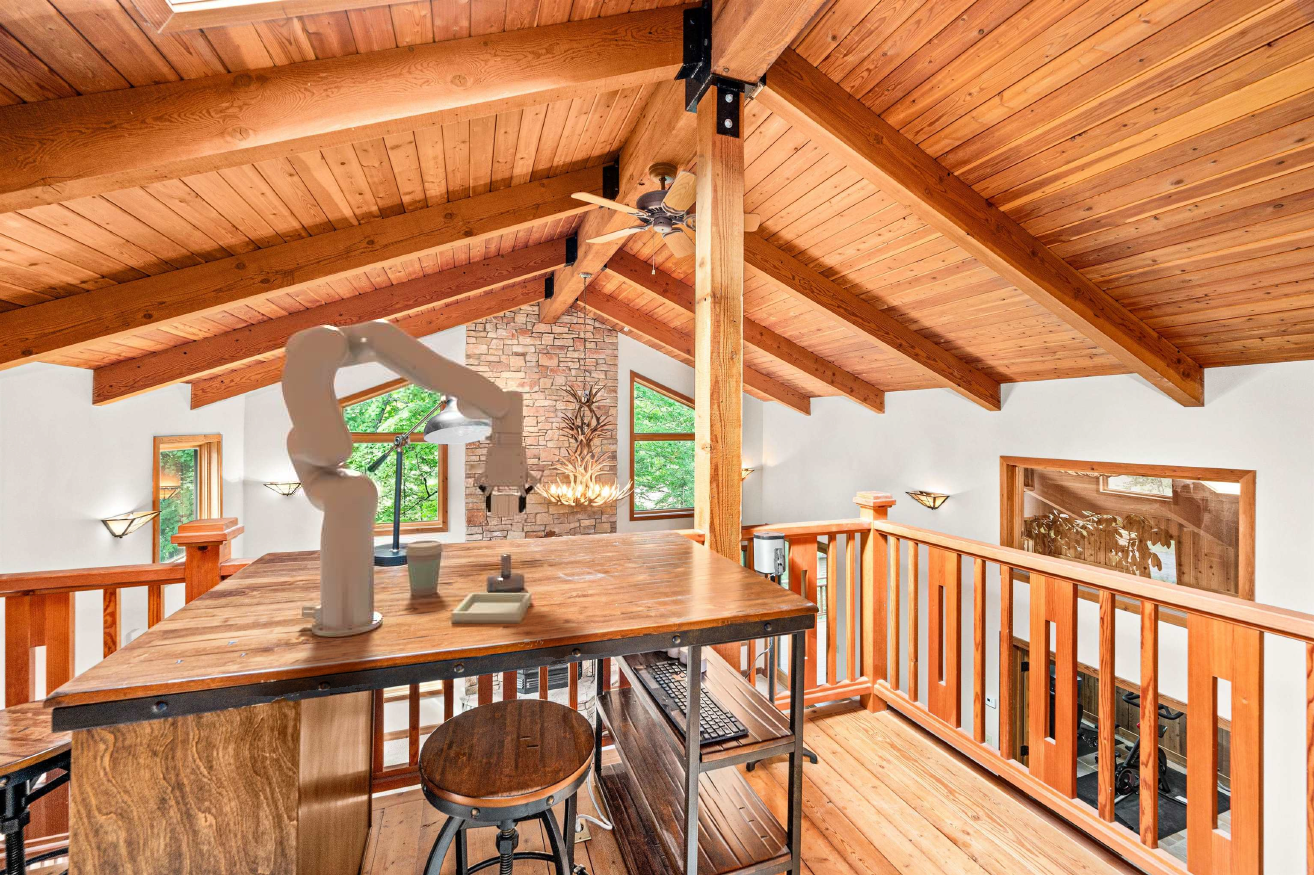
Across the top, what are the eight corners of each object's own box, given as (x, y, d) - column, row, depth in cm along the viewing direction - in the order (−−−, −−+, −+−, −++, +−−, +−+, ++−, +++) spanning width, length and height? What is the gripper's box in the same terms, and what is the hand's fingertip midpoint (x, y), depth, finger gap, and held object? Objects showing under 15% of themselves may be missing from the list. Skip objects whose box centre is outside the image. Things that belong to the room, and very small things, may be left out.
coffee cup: (448, 588, 144) (449, 540, 143) (432, 598, 135) (432, 548, 135) (416, 586, 144) (416, 539, 144) (397, 597, 136) (397, 546, 136)
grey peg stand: (482, 594, 139) (483, 559, 139) (491, 584, 148) (492, 551, 148) (520, 594, 139) (520, 559, 139) (527, 584, 148) (527, 551, 148)
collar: (488, 516, 139) (488, 496, 139) (495, 512, 146) (495, 492, 146) (517, 517, 140) (517, 496, 140) (522, 512, 147) (523, 492, 146)
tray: (451, 622, 119) (451, 612, 119) (470, 601, 133) (470, 592, 133) (519, 623, 120) (519, 613, 120) (531, 601, 134) (531, 592, 134)
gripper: (467, 440, 138) (466, 513, 139) (540, 441, 139) (538, 514, 140) (475, 439, 146) (474, 509, 146) (544, 440, 147) (543, 510, 147)
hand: (506, 511), depth 143 cm, fingers closed on collar, 7 cm apart
